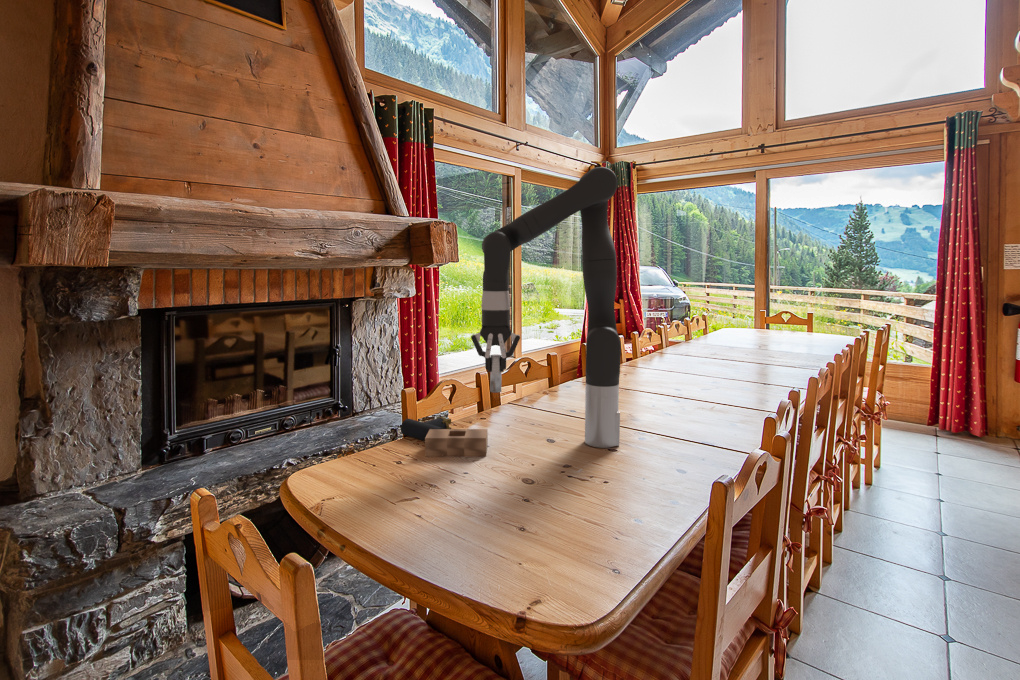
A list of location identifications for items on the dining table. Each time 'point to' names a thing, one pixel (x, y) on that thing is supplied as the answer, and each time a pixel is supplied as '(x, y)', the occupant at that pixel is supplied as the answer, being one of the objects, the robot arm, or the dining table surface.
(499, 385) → the pin
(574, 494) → the dining table surface
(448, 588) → the dining table surface
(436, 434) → the socket block
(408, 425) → the pipe connector
